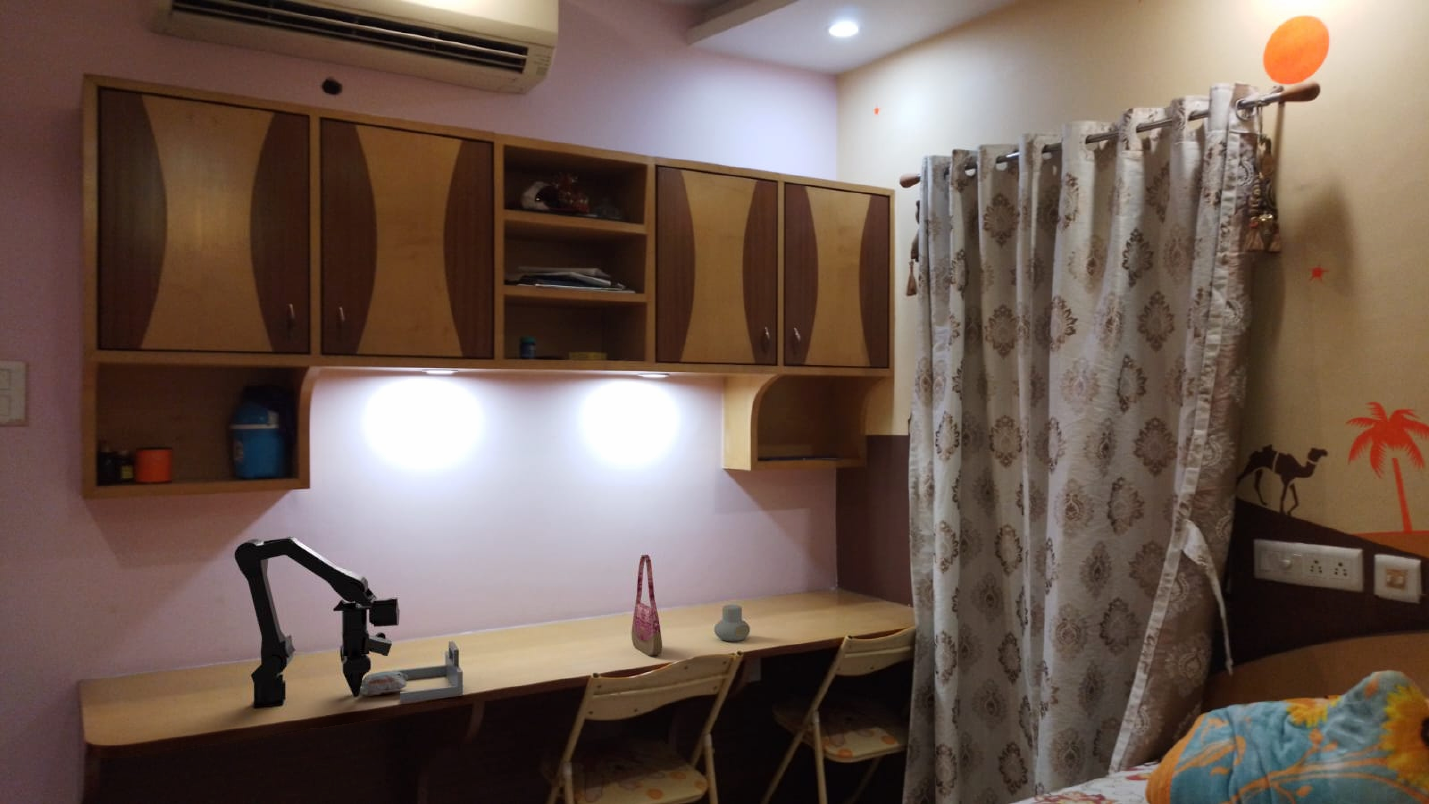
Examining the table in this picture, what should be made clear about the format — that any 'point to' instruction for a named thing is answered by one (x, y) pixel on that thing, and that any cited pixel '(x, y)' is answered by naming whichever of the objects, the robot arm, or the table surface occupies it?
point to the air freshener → (732, 624)
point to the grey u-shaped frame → (448, 669)
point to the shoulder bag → (646, 616)
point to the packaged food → (383, 683)
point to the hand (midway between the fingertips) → (355, 691)
